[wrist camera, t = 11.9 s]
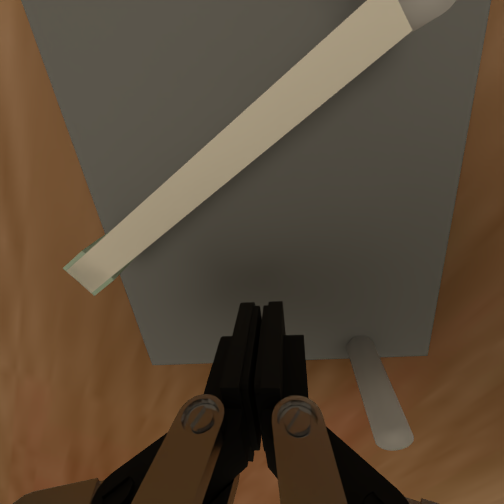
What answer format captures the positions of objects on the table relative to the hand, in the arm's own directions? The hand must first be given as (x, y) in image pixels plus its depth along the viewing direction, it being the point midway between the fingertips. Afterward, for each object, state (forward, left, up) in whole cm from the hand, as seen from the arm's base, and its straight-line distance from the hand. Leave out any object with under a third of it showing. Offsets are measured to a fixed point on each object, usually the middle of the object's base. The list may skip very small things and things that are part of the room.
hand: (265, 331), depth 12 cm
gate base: (0, -2, -9) cm, 10 cm away
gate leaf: (+1, -6, -8) cm, 10 cm away
